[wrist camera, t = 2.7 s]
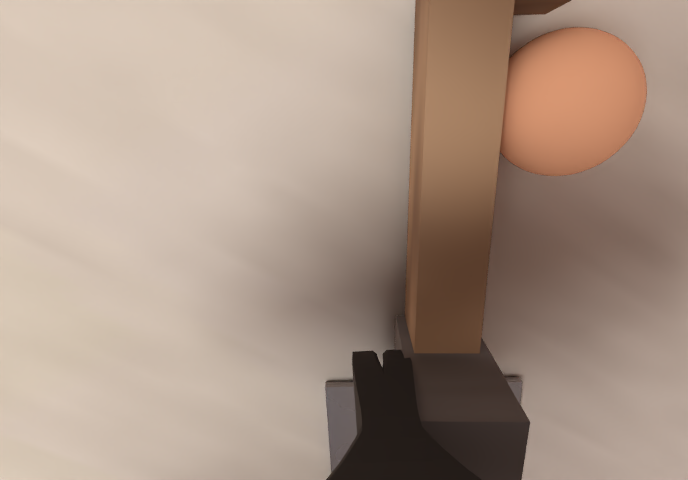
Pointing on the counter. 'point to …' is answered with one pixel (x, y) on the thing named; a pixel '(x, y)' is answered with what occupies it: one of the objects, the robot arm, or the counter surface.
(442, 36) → the lever
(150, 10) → the counter surface
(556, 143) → the ball
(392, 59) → the counter surface
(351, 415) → the pivot base
